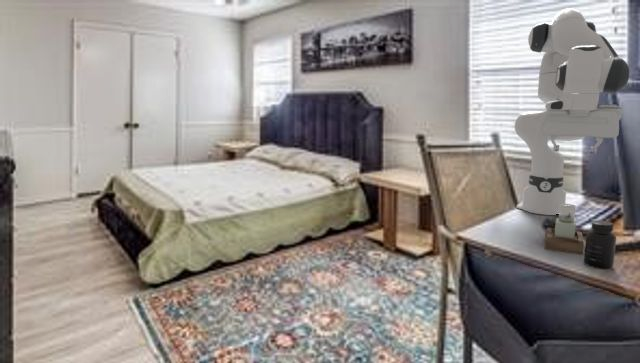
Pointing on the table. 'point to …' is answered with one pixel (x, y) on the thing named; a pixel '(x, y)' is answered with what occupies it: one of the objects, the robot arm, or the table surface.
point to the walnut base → (564, 242)
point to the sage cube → (565, 229)
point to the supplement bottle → (600, 245)
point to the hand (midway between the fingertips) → (574, 152)
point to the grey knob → (567, 213)
